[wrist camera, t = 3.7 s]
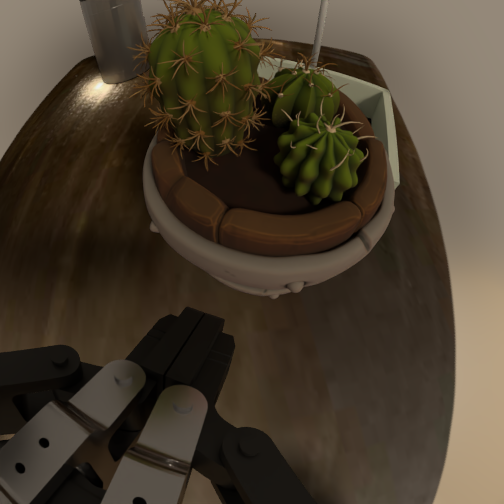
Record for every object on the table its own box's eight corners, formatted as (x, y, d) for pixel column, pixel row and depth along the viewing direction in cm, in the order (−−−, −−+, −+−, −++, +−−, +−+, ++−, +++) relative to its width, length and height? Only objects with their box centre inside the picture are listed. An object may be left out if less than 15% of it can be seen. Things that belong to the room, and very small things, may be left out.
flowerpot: (330, 171, 27) (391, -13, 9) (352, 322, 21) (577, 157, 2) (188, 167, 27) (154, -30, 8) (168, 321, 20) (-47, 113, 2)
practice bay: (377, 213, 25) (487, 28, 6) (182, 159, 27) (145, -38, 8) (377, 117, 32) (425, -9, 13) (236, 81, 34) (237, -50, 15)
